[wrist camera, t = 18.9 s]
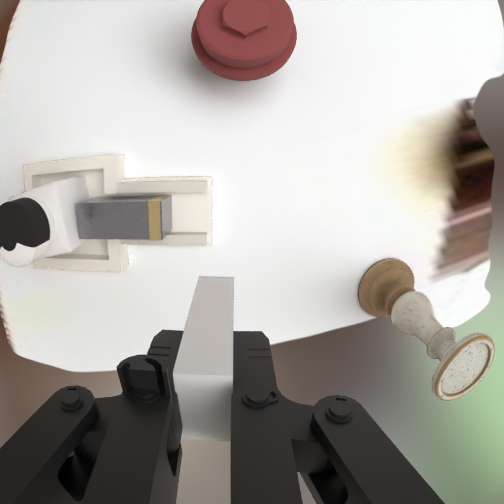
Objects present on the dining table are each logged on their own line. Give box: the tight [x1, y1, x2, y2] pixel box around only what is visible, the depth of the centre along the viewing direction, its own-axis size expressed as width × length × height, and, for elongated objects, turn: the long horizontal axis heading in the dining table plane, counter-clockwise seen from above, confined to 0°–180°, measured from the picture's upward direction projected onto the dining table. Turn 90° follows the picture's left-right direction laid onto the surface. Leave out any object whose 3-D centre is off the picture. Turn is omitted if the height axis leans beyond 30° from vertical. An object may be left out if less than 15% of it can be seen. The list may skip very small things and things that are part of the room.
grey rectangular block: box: [76, 195, 172, 240], centre depth 33 cm, size 4×10×5 cm, turn 88°
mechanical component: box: [191, 0, 297, 81], centre depth 26 cm, size 12×10×10 cm
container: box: [0, 176, 90, 267], centre depth 29 cm, size 8×8×13 cm
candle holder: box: [359, 259, 495, 401], centre depth 31 cm, size 9×9×20 cm
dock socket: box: [24, 154, 213, 272], centre depth 35 cm, size 14×25×3 cm, turn 88°
